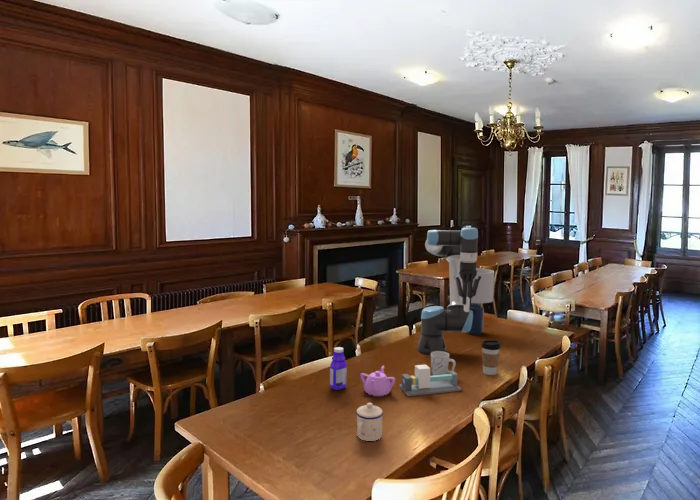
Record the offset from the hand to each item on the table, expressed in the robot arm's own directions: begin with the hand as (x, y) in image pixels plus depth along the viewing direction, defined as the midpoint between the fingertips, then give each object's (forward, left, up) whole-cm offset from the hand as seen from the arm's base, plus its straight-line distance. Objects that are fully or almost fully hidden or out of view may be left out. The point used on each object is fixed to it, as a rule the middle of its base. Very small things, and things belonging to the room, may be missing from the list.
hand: (466, 311), depth 223 cm
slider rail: (+17, -25, -29) cm, 41 cm away
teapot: (+15, -48, -29) cm, 58 cm away
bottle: (+7, -63, -29) cm, 69 cm away
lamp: (-56, +36, -29) cm, 73 cm away
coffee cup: (+6, +10, -29) cm, 31 cm away
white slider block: (+17, -29, -27) cm, 43 cm away
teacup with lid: (+51, -63, -29) cm, 86 cm away
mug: (+4, -13, -29) cm, 32 cm away
